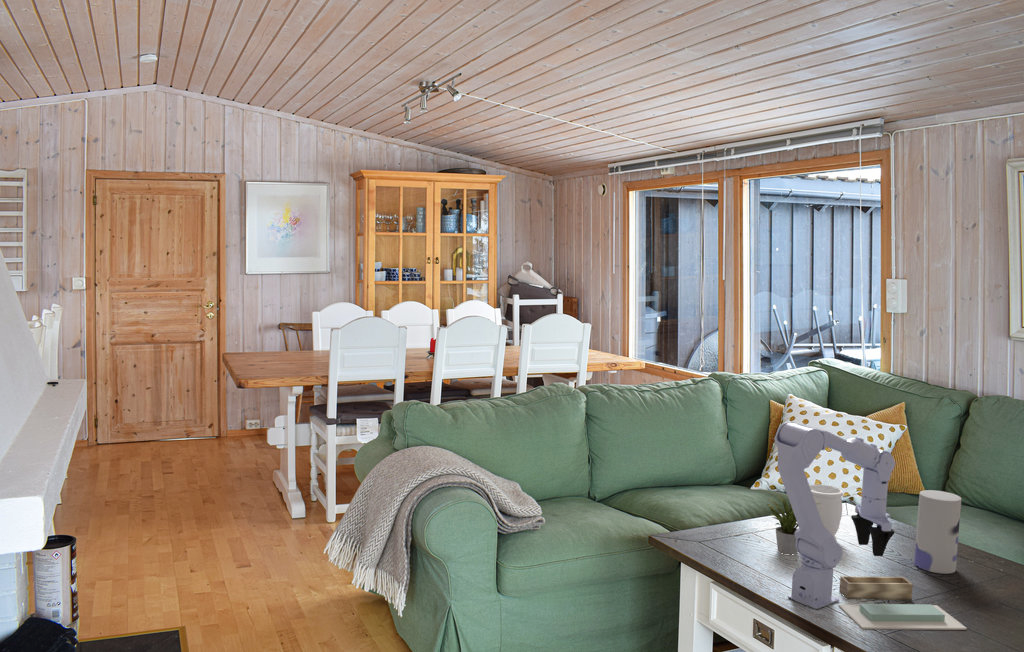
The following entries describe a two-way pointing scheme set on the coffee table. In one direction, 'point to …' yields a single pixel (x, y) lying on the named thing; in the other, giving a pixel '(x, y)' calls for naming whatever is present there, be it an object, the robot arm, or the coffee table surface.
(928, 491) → the container
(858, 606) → the mat
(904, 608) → the lid
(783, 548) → the house plant
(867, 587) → the pencil box
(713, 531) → the coffee table surface
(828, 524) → the white vase
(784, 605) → the coffee table surface
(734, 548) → the coffee table surface
